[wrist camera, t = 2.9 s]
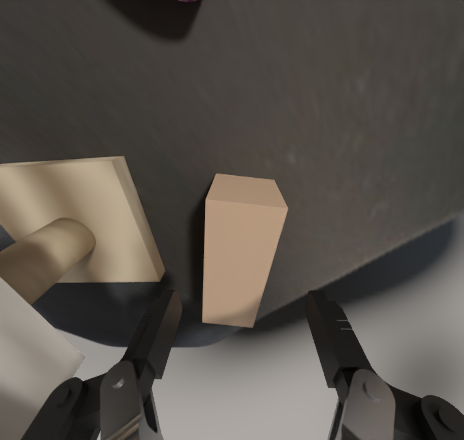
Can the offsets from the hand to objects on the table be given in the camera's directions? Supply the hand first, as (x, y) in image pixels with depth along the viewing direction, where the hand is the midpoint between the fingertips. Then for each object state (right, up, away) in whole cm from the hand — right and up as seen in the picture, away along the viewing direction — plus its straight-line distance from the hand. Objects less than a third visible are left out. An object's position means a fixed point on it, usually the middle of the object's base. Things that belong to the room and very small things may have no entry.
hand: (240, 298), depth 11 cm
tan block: (0, +3, +6) cm, 7 cm away
